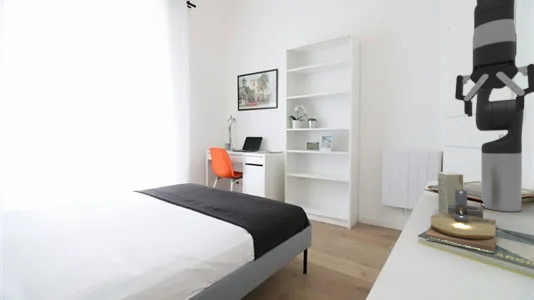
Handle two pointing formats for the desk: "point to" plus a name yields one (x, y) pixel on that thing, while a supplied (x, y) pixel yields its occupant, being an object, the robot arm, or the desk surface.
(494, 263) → the desk surface
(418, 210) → the desk surface
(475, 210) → the tan piece
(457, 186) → the skincare box
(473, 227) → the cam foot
